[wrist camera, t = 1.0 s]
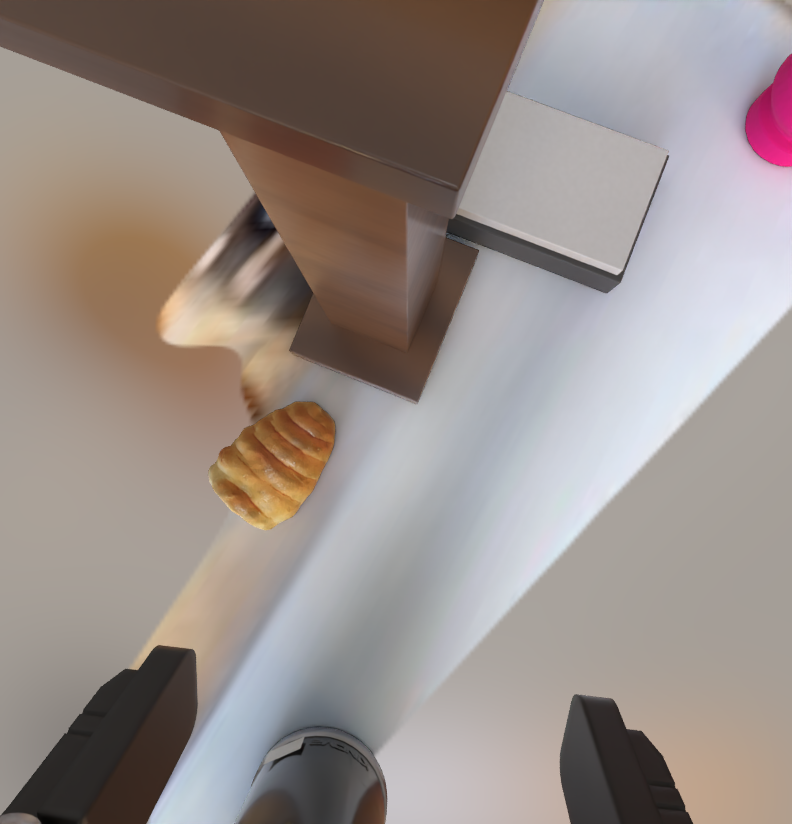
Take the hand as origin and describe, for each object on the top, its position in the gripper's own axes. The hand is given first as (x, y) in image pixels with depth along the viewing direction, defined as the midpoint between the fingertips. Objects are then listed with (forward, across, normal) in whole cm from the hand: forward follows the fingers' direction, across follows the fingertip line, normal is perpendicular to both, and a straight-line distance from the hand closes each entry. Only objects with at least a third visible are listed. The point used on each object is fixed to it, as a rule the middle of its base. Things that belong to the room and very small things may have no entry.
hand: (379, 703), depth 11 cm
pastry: (+27, -10, -7) cm, 30 cm away
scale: (+35, +6, +14) cm, 38 cm away
